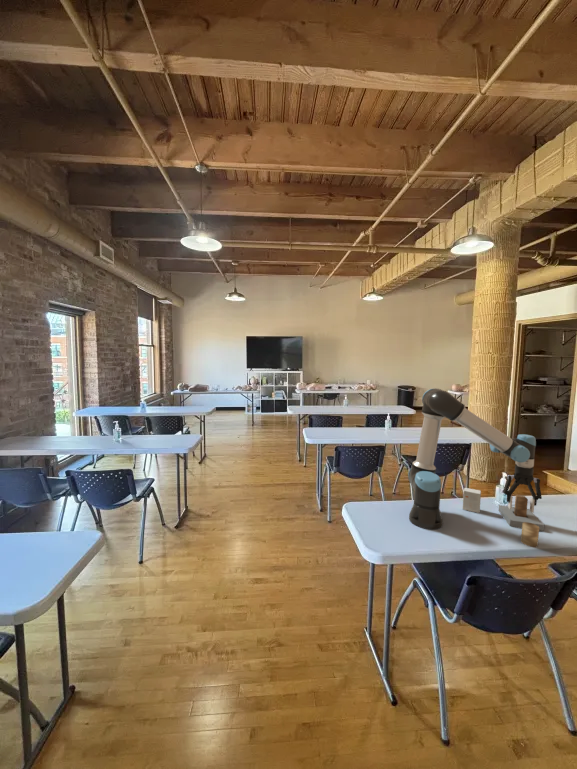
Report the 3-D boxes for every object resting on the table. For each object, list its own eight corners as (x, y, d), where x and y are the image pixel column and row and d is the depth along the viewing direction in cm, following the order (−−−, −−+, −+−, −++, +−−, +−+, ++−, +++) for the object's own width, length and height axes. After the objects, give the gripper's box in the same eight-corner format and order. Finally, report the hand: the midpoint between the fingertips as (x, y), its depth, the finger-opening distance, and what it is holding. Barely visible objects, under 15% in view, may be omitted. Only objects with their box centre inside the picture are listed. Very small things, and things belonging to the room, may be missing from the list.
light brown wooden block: (523, 545, 146) (525, 527, 145) (518, 538, 152) (520, 521, 151) (539, 548, 144) (541, 530, 143) (534, 541, 150) (536, 523, 149)
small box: (479, 509, 181) (481, 490, 180) (479, 513, 176) (480, 493, 175) (463, 505, 185) (464, 487, 184) (462, 509, 180) (463, 490, 179)
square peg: (516, 521, 168) (518, 498, 167) (513, 517, 172) (515, 495, 171) (525, 522, 167) (527, 499, 166) (522, 519, 171) (524, 496, 170)
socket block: (509, 526, 163) (510, 520, 163) (498, 510, 180) (498, 505, 180) (543, 531, 159) (544, 525, 159) (528, 514, 176) (529, 509, 176)
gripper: (502, 465, 167) (498, 509, 169) (553, 470, 161) (549, 516, 163) (497, 461, 174) (494, 503, 176) (546, 466, 168) (542, 510, 170)
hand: (520, 509), depth 169 cm, fingers open, 9 cm apart
